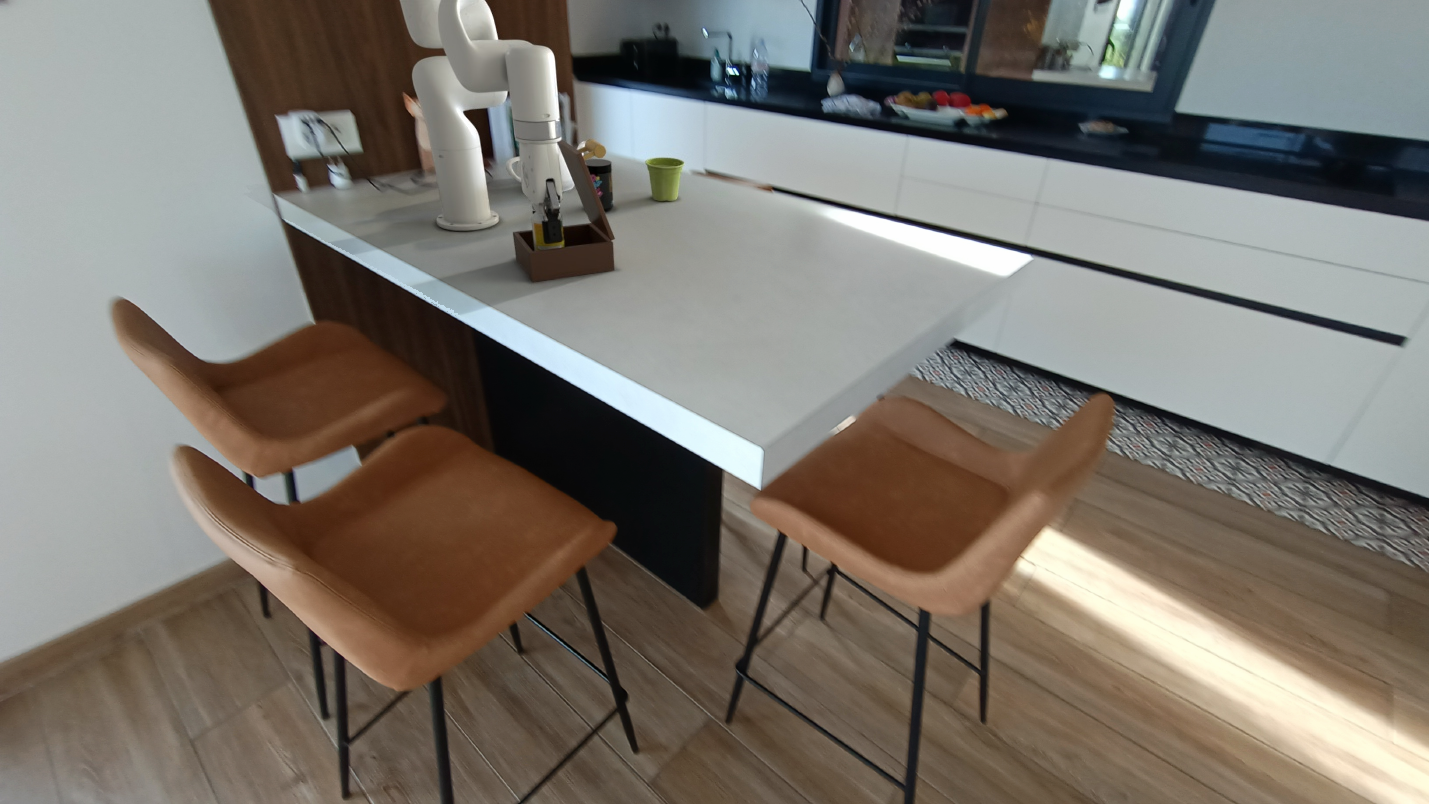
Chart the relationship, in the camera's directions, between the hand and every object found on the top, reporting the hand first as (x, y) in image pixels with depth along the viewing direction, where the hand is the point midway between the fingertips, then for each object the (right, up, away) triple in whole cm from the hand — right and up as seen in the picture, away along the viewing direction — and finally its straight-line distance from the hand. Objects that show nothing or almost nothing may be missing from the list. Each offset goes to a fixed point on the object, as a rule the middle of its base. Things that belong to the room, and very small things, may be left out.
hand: (548, 236), depth 118 cm
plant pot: (+18, +20, +44) cm, 51 cm away
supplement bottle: (0, -3, +2) cm, 4 cm away
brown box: (+2, -4, +4) cm, 6 cm away
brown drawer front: (+7, +8, -1) cm, 10 cm away
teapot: (-11, +24, +48) cm, 55 cm away
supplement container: (+3, +15, +34) cm, 37 cm away
